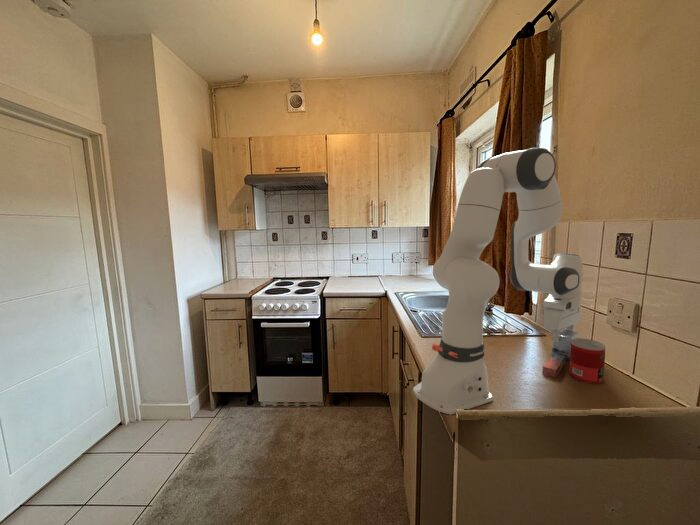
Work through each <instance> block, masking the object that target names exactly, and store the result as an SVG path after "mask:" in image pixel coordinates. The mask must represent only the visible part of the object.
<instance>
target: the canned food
mask: <svg viewBox="0 0 700 525" xmlns="http://www.w3.org/2000/svg"><path fill="white" fill-rule="evenodd" d="M605 360H606V345H605V343H602V342H600V341H597V340H594V339H590V338H589V339H588V338H581V337H580V338H579V337H578V338H575V339H572V340H571V347H570V361H569V374H570V376H571V377H573V378H574V379H575V380H578V381H580V382H583V383H586V382H587V384H592V383H593V385H596V384H597V383H598V384H601V383H603V381H604V379H605V377H604V375H605V364H606V363H605Z"/></svg>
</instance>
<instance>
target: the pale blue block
mask: <svg viewBox="0 0 700 525" xmlns="http://www.w3.org/2000/svg"><path fill="white" fill-rule="evenodd" d="M559 335H560V337H561V341H559V342H554V341H553V344H552V347H553V348H554V349H557V350H559V351H562V352H565V353H568V354H570V347H571V340H572V339H575V338H579V332H576V331H574V330H573V331H570V330H567V329H566V328H565V329H562V330H560V333H559Z"/></svg>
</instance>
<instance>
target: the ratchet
mask: <svg viewBox="0 0 700 525" xmlns="http://www.w3.org/2000/svg"><path fill="white" fill-rule="evenodd" d="M550 351H551V354H550V356H551V357H549V359H547V361H546V362H545V364H544V365H542V375H543V376H546V377H550V378H553V379H556V378H557V377H558V375H559V374H560V372H561V371H562V369H563V366H564V365H565V363H566V362H570V354H568V353H565V352H562V351H559V350H557V349H554V348H553V346H551V350H550Z"/></svg>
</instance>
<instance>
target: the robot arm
mask: <svg viewBox="0 0 700 525" xmlns="http://www.w3.org/2000/svg"><path fill="white" fill-rule="evenodd" d="M556 166H557V164H556V159H555V157H554V155H553V154H552V152H550V151H549V150H548V149H547V148H543V147H530V148H527V149H523V150H515V151H509V152H504V153H502V154H498V155H496V156H490V157H489V158H486V159H484V160H482V161H481V162H480V163H479V164H478V165H477V167H476V168H475V170H473V171H471V172H470V173H469V175H468V177H467V178H466V180H465V182H464V185H463V188H462V190H461V193H460V197H459V200H458V204H457V208H456V211H455V215H454V220H453V224H452V227H451V228H452V229H451V231H450V234H449V237H448V239H447V241H446V244H445V245H444V248H443V250H442V252H441V254H440V256H439V258H438V259H436V261H435V263H434V264H433V267H432V275H433V278H434V279H435V281H436V283H437V284H438V285H439V286H440V287H441V288H443V289H444V290H446V291H448V301H447V303H446V308H445V309H444V310H443V312H442V315H441V330H442V331H441V333H442V335H441V338H440V342H439V344H437V343H433V344H432V346H431V350H432V351H434V352H437V354H436V355H435V356H434V357H433V359H432V360H431V361H430V363H429V364H428V365H427V366H426V367H425V369H424V370H423V371H422V375H421V381H420V382H419V383H417V384H416V385H415V386H413V388H412V393H413V394H414V396H416V398H417V399H418V400H420V402H422V403H423V404H425V405H427V406H428V407H429V408H431V409H434V411H435V410H436V411H438V412H440V413H443V414H447V415H453V414H456V413H455V410H456V409H467V410H470V409H473V408H475V407H479V406H482V405H484V404H487V403H491V402H492V401H494V400H493V399H494V396H493V394H492V393H491V392H490V385H489V375H488V367H487V366H486V364H485V359H484V356H485V350H486V349H485V342H484V341H483V334H484V333H483V332H484V316H485V312H486V309H487V305H488V302H489V300H490V299H492V298H493V297H494V296H495V295H496V294H497V292H498V290H499V288H500V283H501V282H500V281H501V280H500V276H499V273H498V272H497V270H496V269H495V268H494V267H493V266H491V265H490V264H488V263H486V262H485V261H483V260H481V259H480V256H481V255H482V253H483V251H484V250H485V248H486V247H487V246H488V245H489V244H490V243H492V241H493V239H494V236H495V233H496V229H497V224H498V221H499V216H500V213H501V208H502V204H503V197H504V195H505V193H515V194H516V203H517V209H518V217H517V220H516V221H515V222H514V223H513V224H512V227H511V230H510V231H511V232H510V251H511V252H510V259H511V262H510V264H511V265H510V271H509V280H510V283H511V285H513V287H514V288H515V289H516V290H517V291H525V292H536V293H541V294H548V295H547V297H546V298H545V299H544V300H543V303H542V307H544V312H543V326H544V329H545V330H546V331H549V332H551V335H552V341H553V342H559V341H561V337H560V335H559V333H560V330H562V329H567V330H570V331H573V332H574V329H575V327H576V324H578V323H579V322H580V321H581V319H582V293H583V291H582V286H581V285H582V282H583V280H584V278H583V277H584V273H583V272H584V269H583V268H584V266H583V259H582V257H581V256H580V255H578V254H574V253H564V252H560V253H559V252H558V253H555V254H553V256H552V257H553V258H552V260H551V263H549V264H543V263H533V262H531V261H530V260H529V244H530V243H529V241H530V239H531V238H533V237H535V236H538V235H540V234H541V235H542V234H543V233H546V232H548V231H550V230H551V229H553V228H554V227H555V226H557V225H558V224H559V222H560V221H561V219H562V217H563V213H564V212H563V211H564V207H563V202H562V201H563V200H562V195H561V191H560V186H559V183H558V181H557V177H556V176H555V173H556V168H557V167H556Z"/></svg>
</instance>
